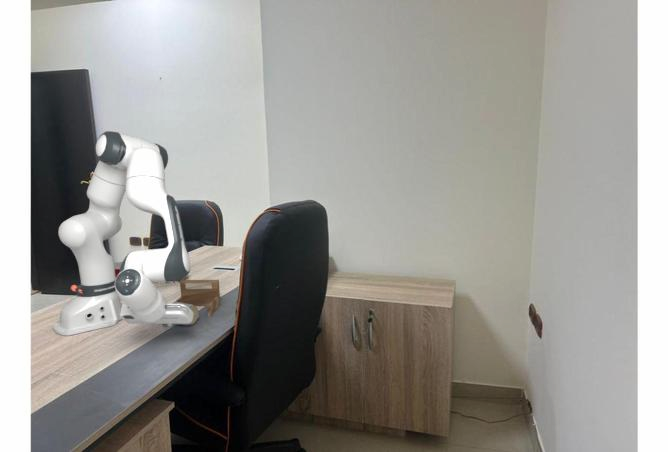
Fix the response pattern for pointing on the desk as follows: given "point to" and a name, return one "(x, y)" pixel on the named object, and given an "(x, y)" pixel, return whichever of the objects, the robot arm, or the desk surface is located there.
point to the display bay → (201, 294)
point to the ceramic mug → (193, 312)
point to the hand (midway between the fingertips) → (167, 324)
